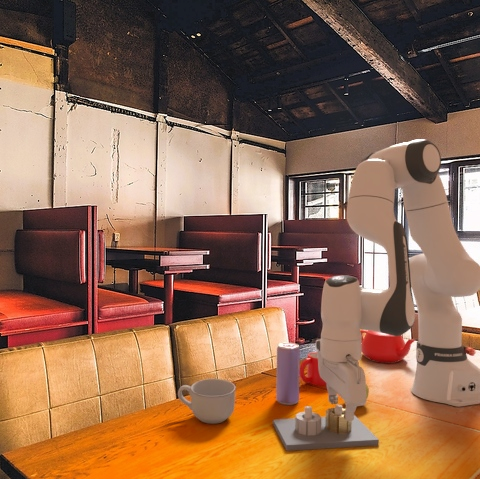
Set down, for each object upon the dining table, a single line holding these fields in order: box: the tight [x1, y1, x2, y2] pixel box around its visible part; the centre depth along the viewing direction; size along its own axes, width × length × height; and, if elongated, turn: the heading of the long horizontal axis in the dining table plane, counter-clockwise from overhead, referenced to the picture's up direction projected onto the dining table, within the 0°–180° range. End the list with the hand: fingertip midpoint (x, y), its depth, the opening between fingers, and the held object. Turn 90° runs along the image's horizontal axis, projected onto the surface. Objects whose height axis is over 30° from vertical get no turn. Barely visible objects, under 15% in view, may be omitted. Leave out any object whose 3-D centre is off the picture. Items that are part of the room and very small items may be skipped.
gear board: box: [272, 404, 380, 452], centre depth 105 cm, size 20×13×6 cm, turn 98°
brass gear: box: [325, 407, 352, 434], centre depth 106 cm, size 5×5×4 cm
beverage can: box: [275, 342, 301, 406], centre depth 125 cm, size 6×6×15 cm
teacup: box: [177, 378, 237, 425], centre depth 114 cm, size 14×11×8 cm
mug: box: [299, 351, 327, 387], centre depth 141 cm, size 8×12×8 cm, turn 126°
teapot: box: [360, 329, 417, 364], centre depth 166 cm, size 25×16×12 cm, turn 32°
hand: (340, 411), depth 106 cm, fingers open, 8 cm apart
